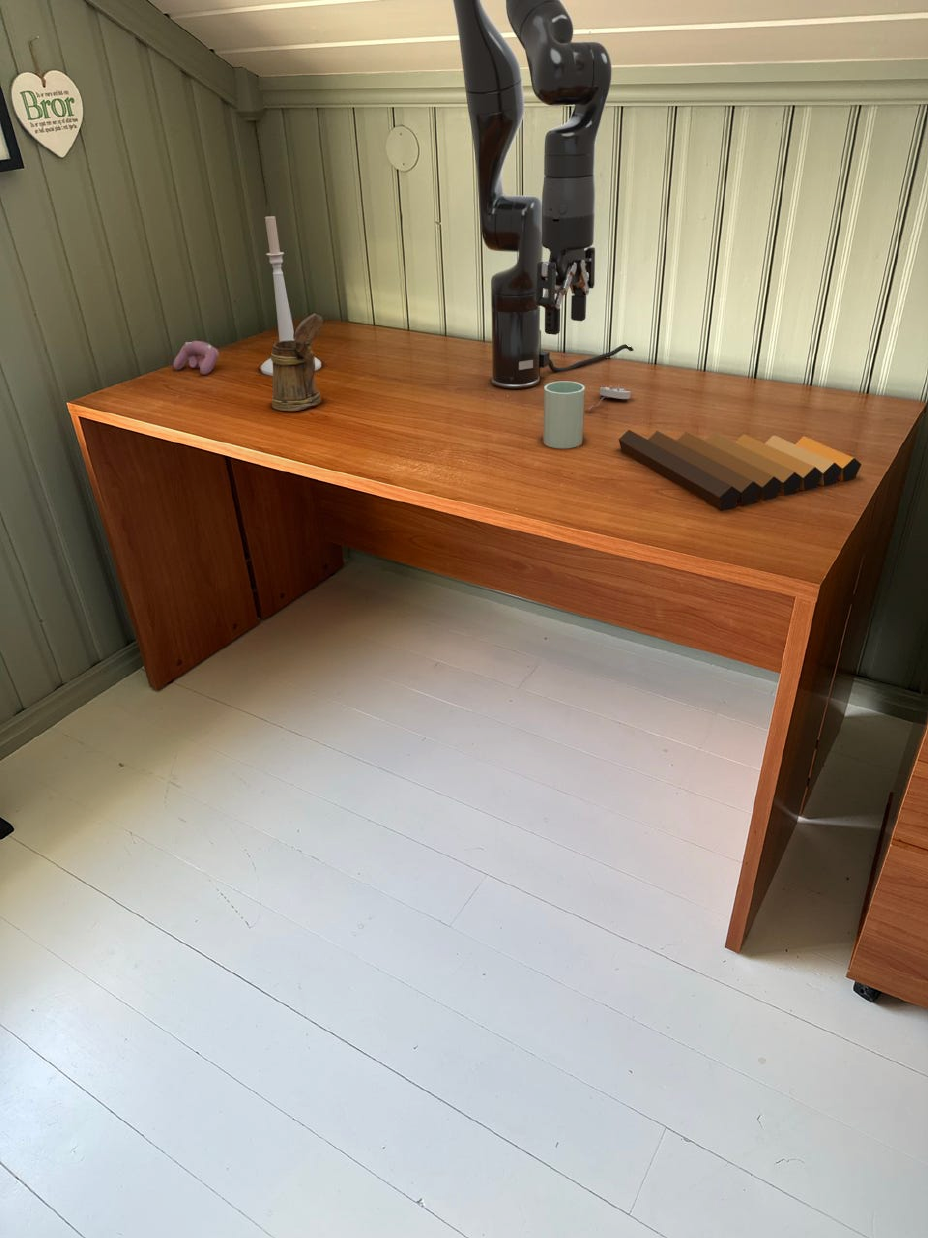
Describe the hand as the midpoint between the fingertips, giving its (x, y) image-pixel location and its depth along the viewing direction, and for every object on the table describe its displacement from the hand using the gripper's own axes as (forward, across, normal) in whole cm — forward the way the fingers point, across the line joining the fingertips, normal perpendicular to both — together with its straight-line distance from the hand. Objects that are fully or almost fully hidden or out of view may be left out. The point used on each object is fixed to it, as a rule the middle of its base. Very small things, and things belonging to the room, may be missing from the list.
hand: (565, 326), depth 129 cm
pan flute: (+18, -3, +28) cm, 33 cm away
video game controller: (+18, 0, -88) cm, 90 cm away
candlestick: (+19, -11, -71) cm, 74 cm away
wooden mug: (+18, +8, -51) cm, 54 cm away
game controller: (+19, -20, -2) cm, 28 cm away
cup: (+18, +1, 0) cm, 18 cm away
